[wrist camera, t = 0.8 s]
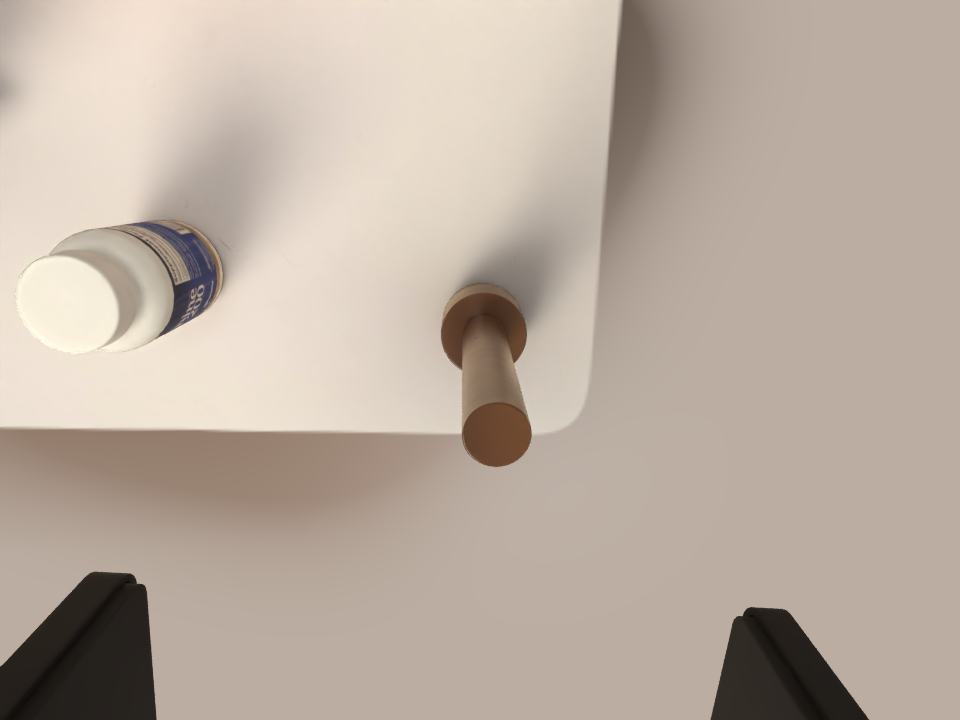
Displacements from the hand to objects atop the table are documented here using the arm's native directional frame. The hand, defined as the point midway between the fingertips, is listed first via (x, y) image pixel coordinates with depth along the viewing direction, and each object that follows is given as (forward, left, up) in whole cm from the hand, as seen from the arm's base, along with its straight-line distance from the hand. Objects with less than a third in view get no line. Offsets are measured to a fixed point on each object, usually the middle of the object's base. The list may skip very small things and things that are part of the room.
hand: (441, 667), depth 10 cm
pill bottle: (+15, -3, -26) cm, 31 cm away
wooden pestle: (-1, 0, -26) cm, 26 cm away
